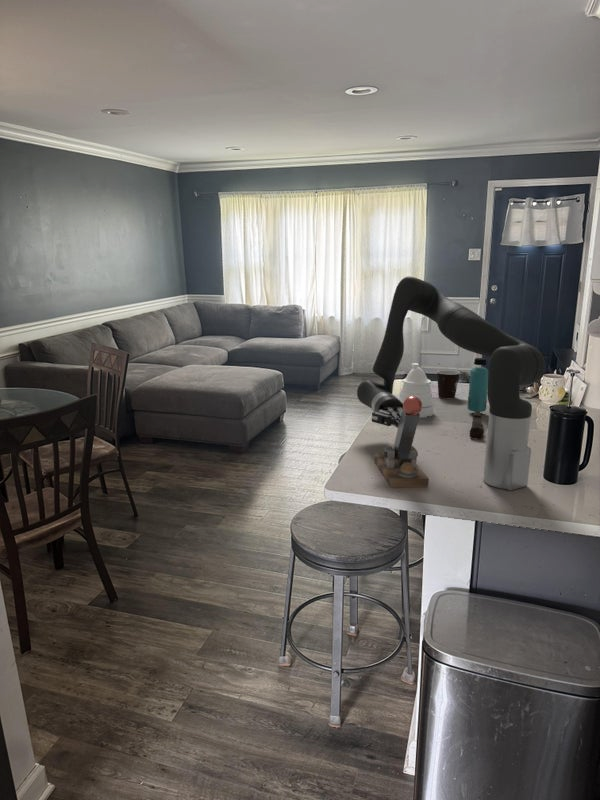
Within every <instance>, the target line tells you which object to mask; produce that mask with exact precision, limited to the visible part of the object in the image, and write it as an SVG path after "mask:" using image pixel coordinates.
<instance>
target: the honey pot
mask: <svg viewBox="0 0 600 800" xmlns="http://www.w3.org/2000/svg"><path fill="white" fill-rule="evenodd" d="M401 381H402V383H403V384H402V387H401V388H400V391H399V394H398V396H397V397H396V398H397V399H399V400H400V401H401V402H402V404H403V403H404V401H405V399H406V398H408V397H411V396H415V397H417V398H419V399H420V400H421V402H422V410H421V411H420V413H419V414H420V416H419V418H428V417H427V416H429V417H431V416H433V415H434V402H435V400H434V397H433V392H432V389H431V387H430V385H431V383H432V381H431V379H428V376H427V375H426V373H425V372H424V370H423V369H422V368H421V367H420V364H419V363H414V362H413V363H411V370H410V371H408V373H407V375H406V377H405V378H403V379H402V380H401Z"/></svg>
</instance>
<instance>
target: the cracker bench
mask: <svg viewBox="0 0 600 800" xmlns="http://www.w3.org/2000/svg"><path fill="white" fill-rule="evenodd" d="M393 448H394V447H392V446H384V452H383V453H375V454H374V459H373V460H374V463H375V464H376V466H377V469H379V471H380V473H381V474H382V475H383V477H384V479H385V480H386V482H387V483H388V485H389V487H390V488H392V489H393V488H395V489H396V488H422V487H425V488H426V487H429V479H430V478H429V477H428V476H427V474H426V473H425V472H424V471H423V470H422V468H421V467H420V466H419V465H418V464H417V460H418V459H417V457H418V456H419V452H418V450H417V449H416V448H415V447H414V446H413V445H412V447H411V451H410V453H411V456H412V461H411V463H409V462H405V463H403V464H402V465H399V463H398V459H395V451H394V449H393Z"/></svg>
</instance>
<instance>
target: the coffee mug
mask: <svg viewBox="0 0 600 800" xmlns="http://www.w3.org/2000/svg"><path fill="white" fill-rule="evenodd" d="M436 376H437V392H438V393H437V394H438V396H439V397H438V398H440V397H441V398H440V399H444V398H453V399H455V398H456V393H457V387H458V384H459V377H460V372H459V371H455V370H450V369H449V370H445V369H444V370H437V374H436ZM454 397H455V398H454Z"/></svg>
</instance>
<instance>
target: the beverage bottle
mask: <svg viewBox="0 0 600 800" xmlns="http://www.w3.org/2000/svg"><path fill="white" fill-rule="evenodd" d="M473 365H475V366H474V367H472V368H471V369H470V371H469V372H470V374H469V385H468V386H469V387H468V397H467V410H468V411H470V412H477V411H478V412H480V413H483V412H486V410H487V403H488V395H487V393H488V369H487V367H483V366H487V358H484V357H476V358H474V362H473Z"/></svg>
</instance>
